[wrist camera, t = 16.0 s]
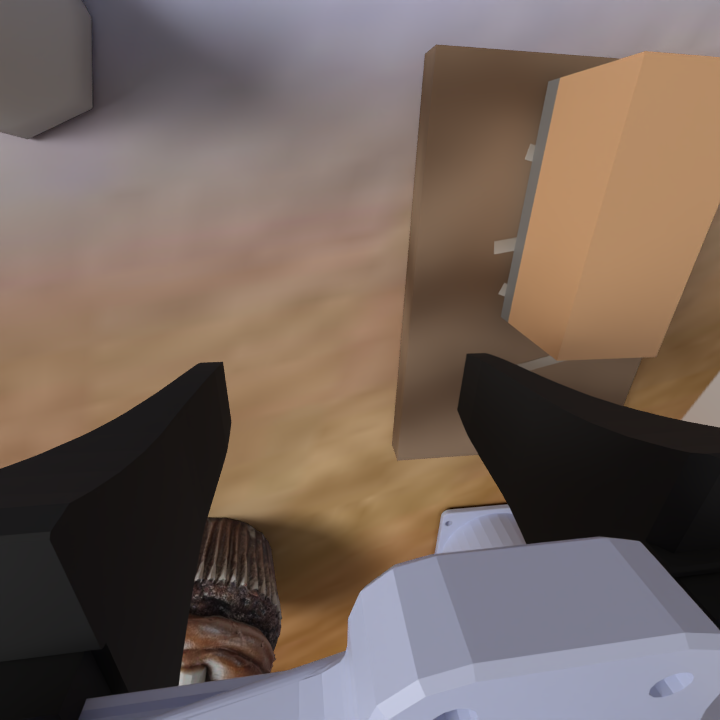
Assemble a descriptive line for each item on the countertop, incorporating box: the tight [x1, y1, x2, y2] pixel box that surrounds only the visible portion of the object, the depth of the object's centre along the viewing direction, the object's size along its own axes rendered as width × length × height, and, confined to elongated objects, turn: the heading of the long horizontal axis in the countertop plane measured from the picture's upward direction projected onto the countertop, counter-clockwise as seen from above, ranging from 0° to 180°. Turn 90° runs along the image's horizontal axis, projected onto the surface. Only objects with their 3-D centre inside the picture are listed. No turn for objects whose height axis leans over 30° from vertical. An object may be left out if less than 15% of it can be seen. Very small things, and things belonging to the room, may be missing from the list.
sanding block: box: [501, 51, 720, 361], centre depth 16 cm, size 10×4×5 cm, turn 178°
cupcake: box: [179, 517, 282, 686], centre depth 23 cm, size 10×10×10 cm
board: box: [392, 45, 642, 460], centre depth 21 cm, size 20×14×2 cm
